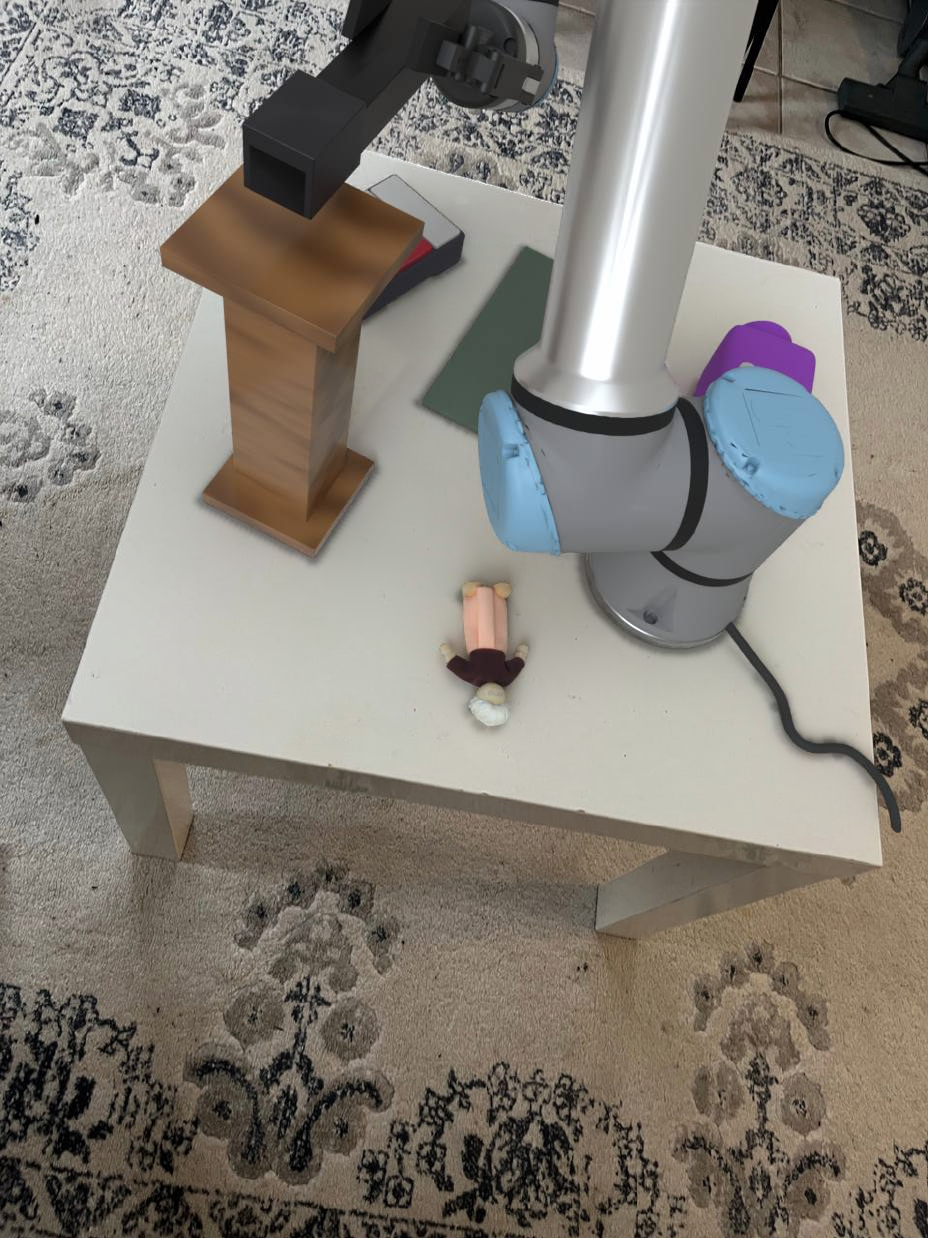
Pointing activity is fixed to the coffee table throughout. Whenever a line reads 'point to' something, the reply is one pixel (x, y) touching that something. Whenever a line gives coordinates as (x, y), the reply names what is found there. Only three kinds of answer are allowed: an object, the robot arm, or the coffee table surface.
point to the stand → (291, 345)
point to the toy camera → (759, 354)
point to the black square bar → (337, 109)
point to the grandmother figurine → (486, 651)
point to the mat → (494, 342)
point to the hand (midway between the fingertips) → (385, 27)
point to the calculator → (431, 253)
